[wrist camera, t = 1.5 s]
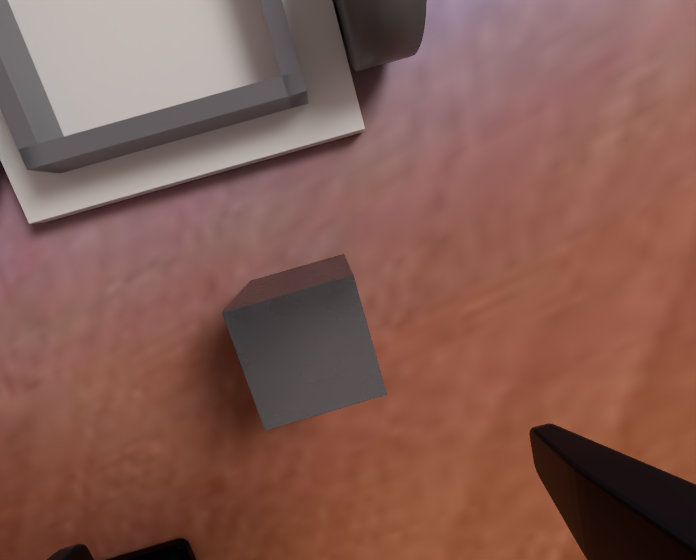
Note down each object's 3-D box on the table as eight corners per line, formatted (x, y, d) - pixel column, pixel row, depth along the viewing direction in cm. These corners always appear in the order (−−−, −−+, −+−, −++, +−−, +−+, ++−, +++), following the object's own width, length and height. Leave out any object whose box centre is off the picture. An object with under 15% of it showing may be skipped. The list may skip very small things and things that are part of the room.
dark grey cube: (280, 366, 21) (264, 430, 15) (251, 280, 20) (222, 312, 14) (368, 341, 21) (386, 394, 15) (343, 254, 20) (353, 275, 14)
